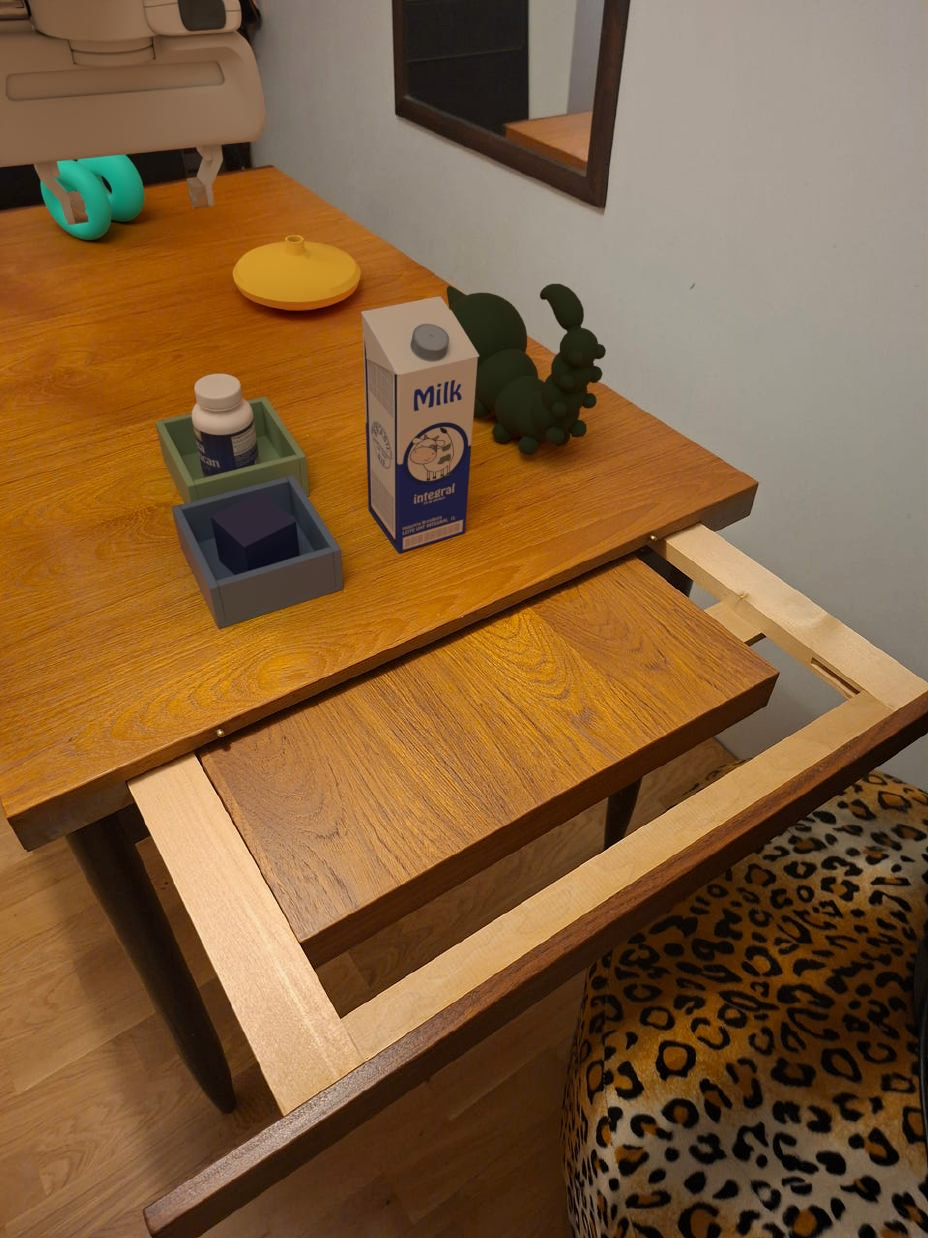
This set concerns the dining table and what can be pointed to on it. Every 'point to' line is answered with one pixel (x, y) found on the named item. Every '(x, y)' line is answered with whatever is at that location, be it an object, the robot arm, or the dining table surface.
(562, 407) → the toy figurine
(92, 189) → the donuts
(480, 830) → the dining table surface
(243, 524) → the navy block
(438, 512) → the milk carton
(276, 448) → the green bin
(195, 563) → the blue bin
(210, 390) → the pill bottle
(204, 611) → the dining table surface
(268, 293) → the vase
